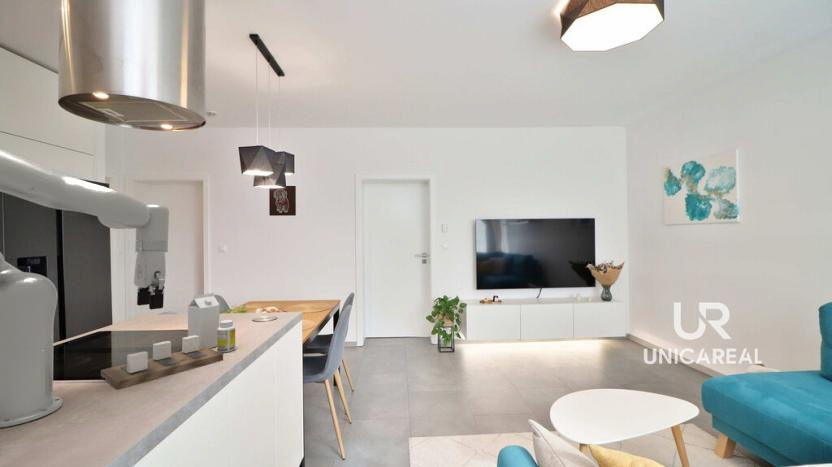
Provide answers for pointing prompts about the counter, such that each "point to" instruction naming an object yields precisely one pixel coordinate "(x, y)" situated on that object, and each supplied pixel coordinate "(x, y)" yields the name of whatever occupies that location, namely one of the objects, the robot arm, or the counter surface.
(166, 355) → the knob middle
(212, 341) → the milk carton
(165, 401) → the counter surface
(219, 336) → the supplement bottle
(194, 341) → the knob right
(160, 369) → the switch board
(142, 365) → the knob left
